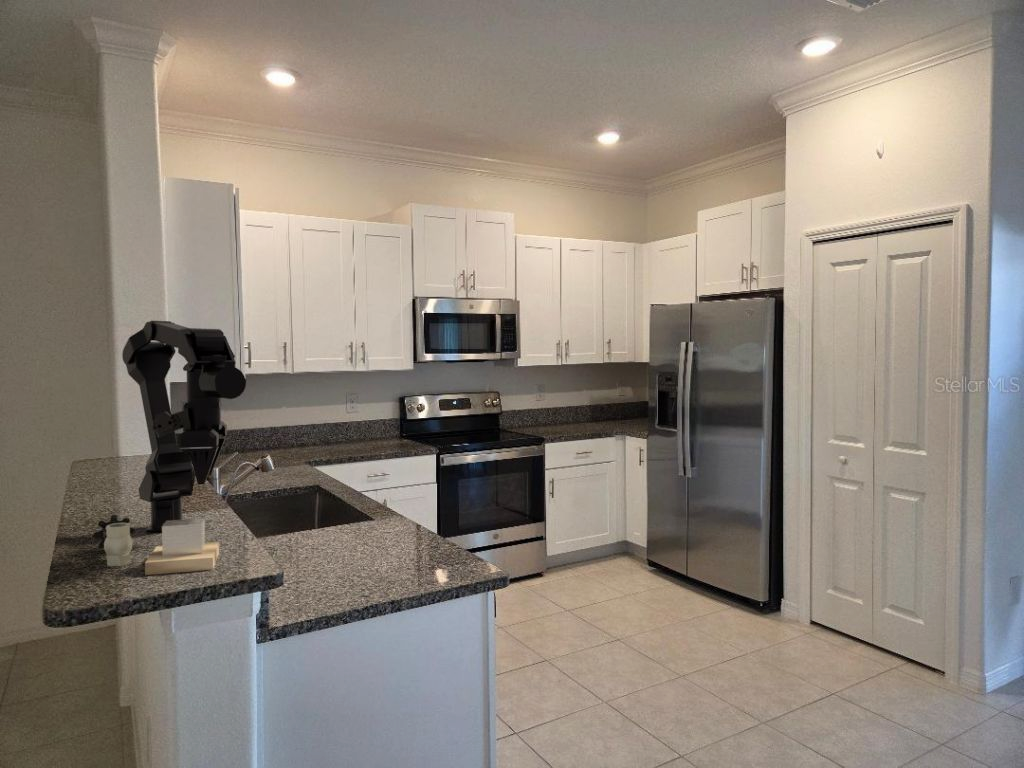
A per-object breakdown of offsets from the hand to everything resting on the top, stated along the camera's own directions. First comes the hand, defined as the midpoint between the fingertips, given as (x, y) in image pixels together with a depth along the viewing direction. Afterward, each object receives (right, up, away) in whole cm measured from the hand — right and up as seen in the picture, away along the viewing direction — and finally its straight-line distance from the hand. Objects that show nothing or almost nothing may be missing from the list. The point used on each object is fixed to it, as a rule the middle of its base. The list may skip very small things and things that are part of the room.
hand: (204, 479), depth 129 cm
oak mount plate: (+2, -12, -12) cm, 18 cm away
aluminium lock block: (+2, -10, -12) cm, 16 cm away
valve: (-11, -13, -9) cm, 19 cm away
